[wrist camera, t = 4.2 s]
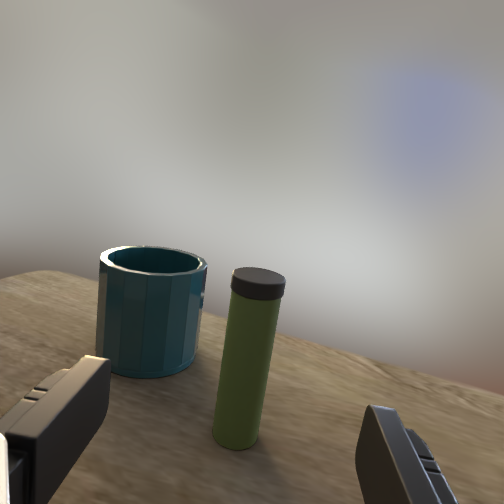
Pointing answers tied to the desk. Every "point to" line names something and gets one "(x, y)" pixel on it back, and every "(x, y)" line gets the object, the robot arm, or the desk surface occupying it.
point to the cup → (149, 310)
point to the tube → (246, 355)
